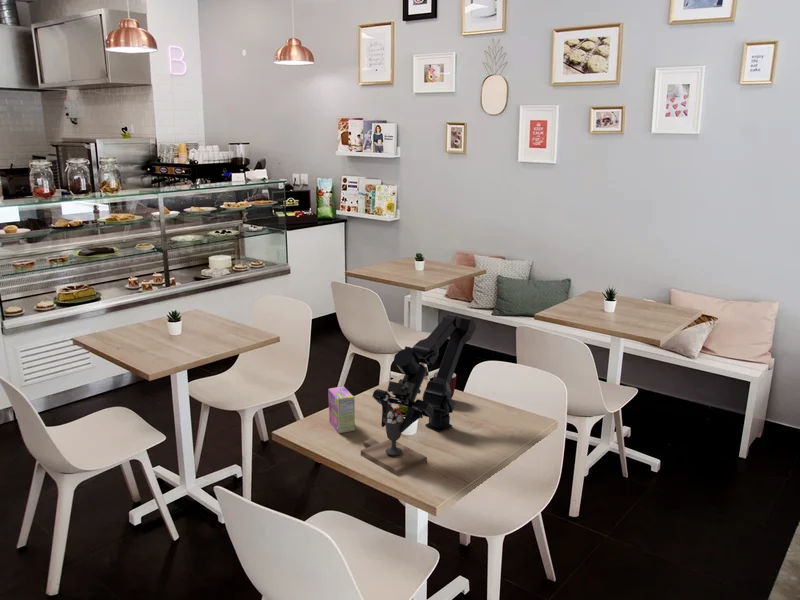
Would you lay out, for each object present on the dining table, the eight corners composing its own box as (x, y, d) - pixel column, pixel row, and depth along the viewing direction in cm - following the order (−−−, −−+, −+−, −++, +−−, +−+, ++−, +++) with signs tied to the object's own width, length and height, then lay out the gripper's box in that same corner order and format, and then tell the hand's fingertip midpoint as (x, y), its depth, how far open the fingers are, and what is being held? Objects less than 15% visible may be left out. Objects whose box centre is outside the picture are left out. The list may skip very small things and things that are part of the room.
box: (328, 421, 222) (328, 388, 219) (344, 418, 224) (344, 385, 221) (338, 434, 212) (337, 399, 209) (355, 431, 214) (354, 396, 212)
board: (352, 450, 201) (352, 445, 201) (382, 439, 209) (382, 434, 209) (396, 474, 187) (396, 470, 186) (426, 461, 195) (426, 457, 194)
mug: (444, 409, 233) (445, 382, 230) (425, 404, 237) (425, 377, 235) (459, 400, 241) (460, 374, 239) (440, 395, 245) (441, 369, 243)
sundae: (409, 451, 196) (410, 403, 193) (394, 458, 192) (394, 410, 188) (393, 444, 201) (393, 397, 197) (377, 451, 196) (377, 404, 192)
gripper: (375, 363, 198) (353, 410, 192) (429, 376, 188) (408, 425, 182) (390, 380, 207) (369, 425, 200) (442, 393, 197) (422, 441, 191)
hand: (391, 429), depth 193 cm, fingers closed on sundae, 6 cm apart
